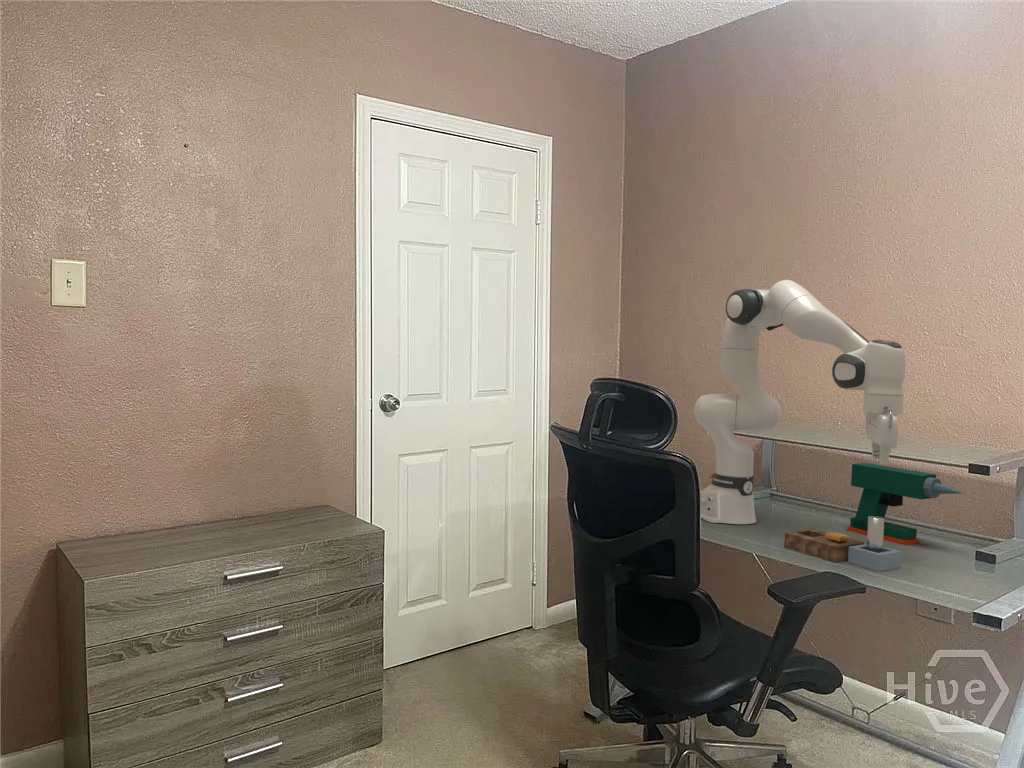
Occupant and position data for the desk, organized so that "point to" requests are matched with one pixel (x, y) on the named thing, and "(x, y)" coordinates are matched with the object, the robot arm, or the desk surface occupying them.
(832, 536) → the tan block
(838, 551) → the block
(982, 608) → the desk surface
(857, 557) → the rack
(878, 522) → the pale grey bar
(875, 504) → the power tool
